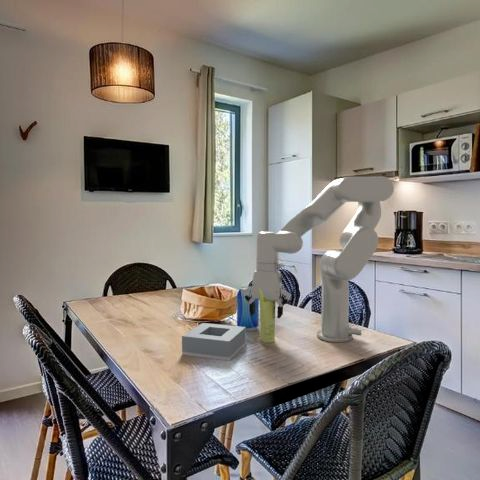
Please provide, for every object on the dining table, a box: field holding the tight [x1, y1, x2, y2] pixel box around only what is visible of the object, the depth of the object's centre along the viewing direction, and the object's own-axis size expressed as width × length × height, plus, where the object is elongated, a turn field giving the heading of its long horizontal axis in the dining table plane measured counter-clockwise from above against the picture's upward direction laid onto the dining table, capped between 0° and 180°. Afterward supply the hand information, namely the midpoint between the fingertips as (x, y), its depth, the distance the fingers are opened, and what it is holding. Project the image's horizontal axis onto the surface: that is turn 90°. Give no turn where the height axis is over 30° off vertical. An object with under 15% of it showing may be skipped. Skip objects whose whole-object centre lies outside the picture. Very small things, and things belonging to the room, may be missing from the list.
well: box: [181, 322, 247, 362], centre depth 129 cm, size 16×16×6 cm
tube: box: [259, 287, 277, 344], centre depth 137 cm, size 6×5×20 cm
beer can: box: [236, 286, 260, 332], centre depth 152 cm, size 8×8×16 cm
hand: (265, 315), depth 137 cm, fingers open, 9 cm apart
